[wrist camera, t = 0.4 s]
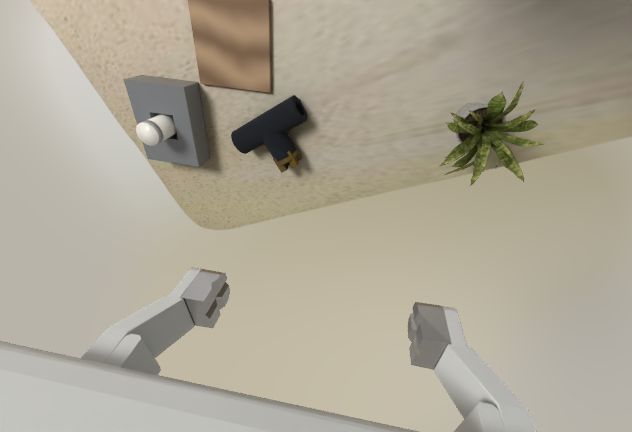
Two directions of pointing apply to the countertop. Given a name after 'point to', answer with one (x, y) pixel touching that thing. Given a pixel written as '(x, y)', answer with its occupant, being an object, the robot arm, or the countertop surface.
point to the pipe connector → (273, 132)
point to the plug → (156, 129)
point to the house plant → (488, 134)
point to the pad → (233, 42)
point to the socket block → (187, 112)
